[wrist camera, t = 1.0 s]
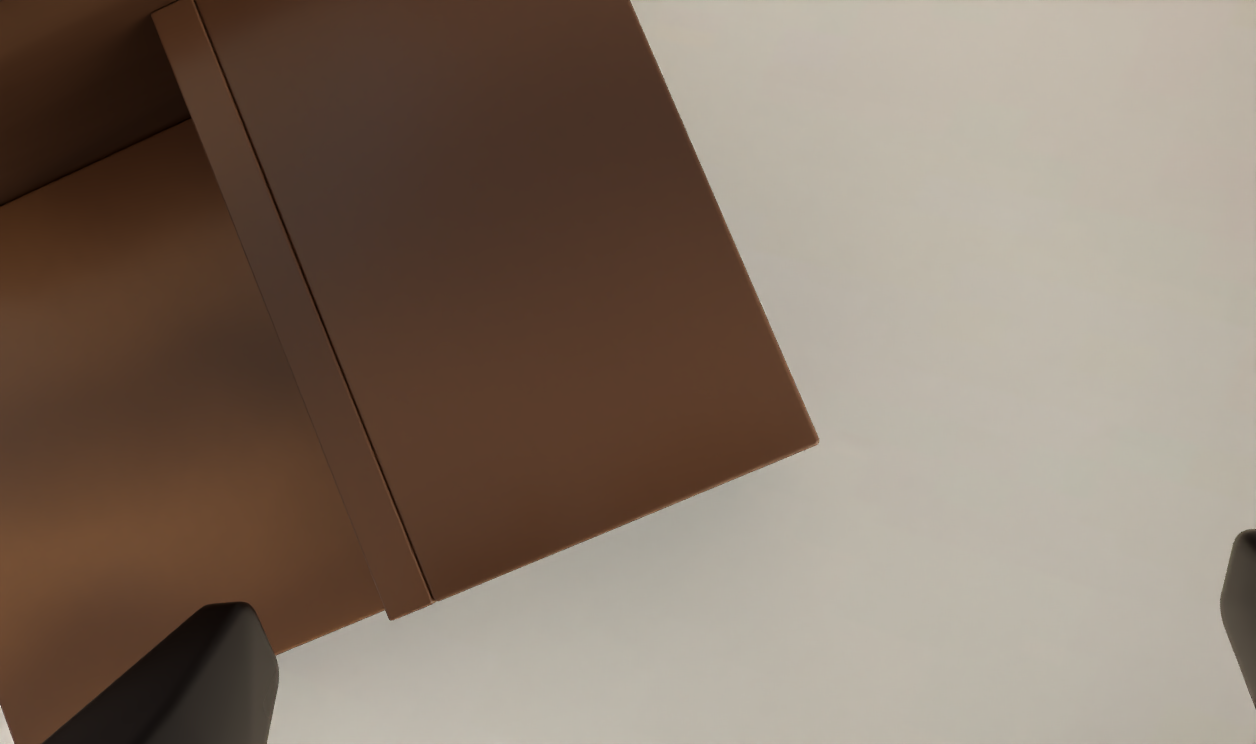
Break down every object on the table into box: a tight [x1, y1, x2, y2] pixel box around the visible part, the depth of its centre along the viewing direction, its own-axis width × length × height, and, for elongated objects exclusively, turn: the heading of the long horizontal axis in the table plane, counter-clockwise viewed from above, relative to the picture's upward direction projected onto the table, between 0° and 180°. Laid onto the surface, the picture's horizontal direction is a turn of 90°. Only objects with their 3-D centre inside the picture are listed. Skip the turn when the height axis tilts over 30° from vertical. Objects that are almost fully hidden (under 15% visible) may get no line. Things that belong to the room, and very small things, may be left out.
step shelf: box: [0, 0, 819, 744], centre depth 20 cm, size 12×18×10 cm
